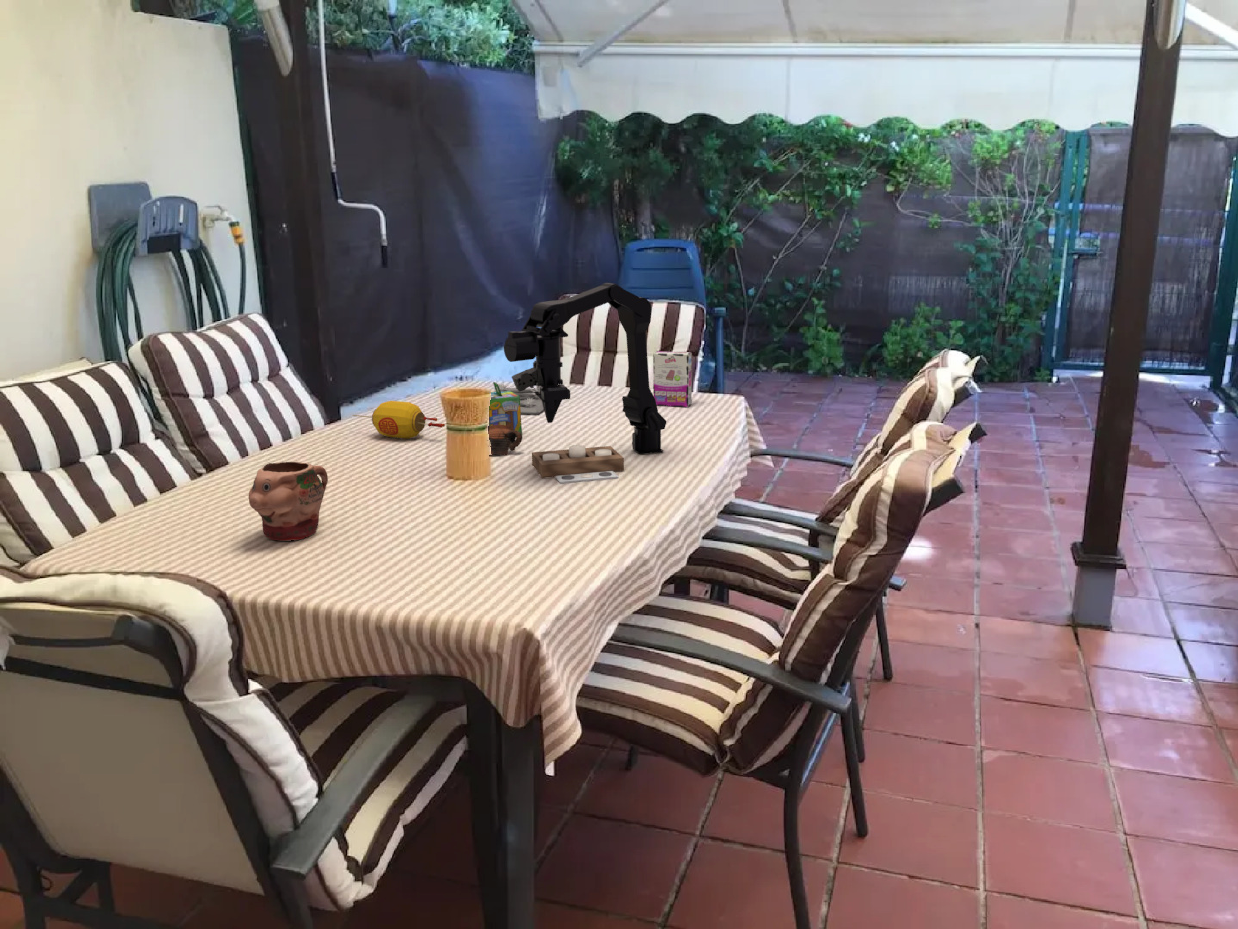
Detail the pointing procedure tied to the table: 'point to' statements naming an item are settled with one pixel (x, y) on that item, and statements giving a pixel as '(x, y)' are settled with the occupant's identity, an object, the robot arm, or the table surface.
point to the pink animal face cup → (288, 499)
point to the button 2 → (602, 452)
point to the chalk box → (505, 409)
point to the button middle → (577, 451)
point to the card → (586, 477)
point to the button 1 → (550, 456)
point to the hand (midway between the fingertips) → (549, 422)
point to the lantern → (400, 419)
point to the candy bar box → (672, 378)
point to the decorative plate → (526, 400)
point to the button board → (577, 463)
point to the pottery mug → (503, 439)
